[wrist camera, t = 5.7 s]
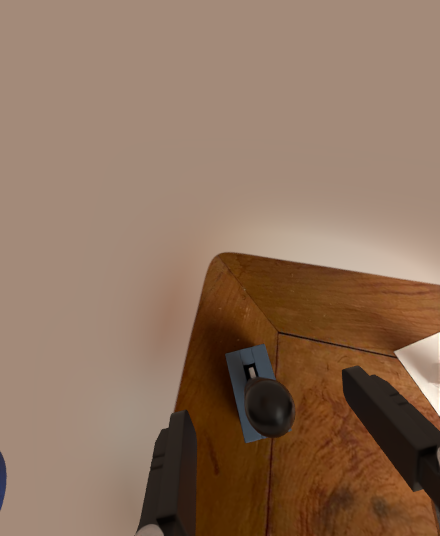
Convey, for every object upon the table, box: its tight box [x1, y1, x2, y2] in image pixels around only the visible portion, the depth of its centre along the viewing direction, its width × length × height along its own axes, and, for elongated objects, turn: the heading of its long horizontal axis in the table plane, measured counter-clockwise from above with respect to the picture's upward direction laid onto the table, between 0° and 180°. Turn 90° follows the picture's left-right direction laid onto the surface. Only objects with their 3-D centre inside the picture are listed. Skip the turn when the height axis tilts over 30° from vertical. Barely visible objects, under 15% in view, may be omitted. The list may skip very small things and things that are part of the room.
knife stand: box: [225, 344, 291, 443], centre depth 22 cm, size 4×7×6 cm, turn 13°
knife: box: [244, 367, 295, 438], centre depth 17 cm, size 2×4×19 cm, turn 13°
